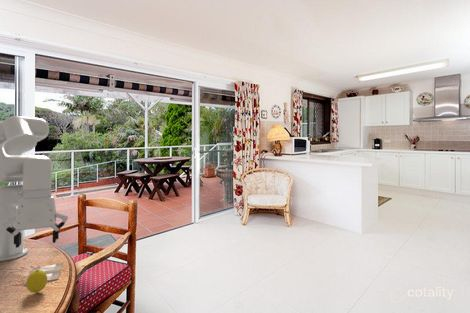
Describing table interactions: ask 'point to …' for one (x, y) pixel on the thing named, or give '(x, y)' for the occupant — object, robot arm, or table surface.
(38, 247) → the table surface
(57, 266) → the label board
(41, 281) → the lemon
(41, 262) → the table surface
